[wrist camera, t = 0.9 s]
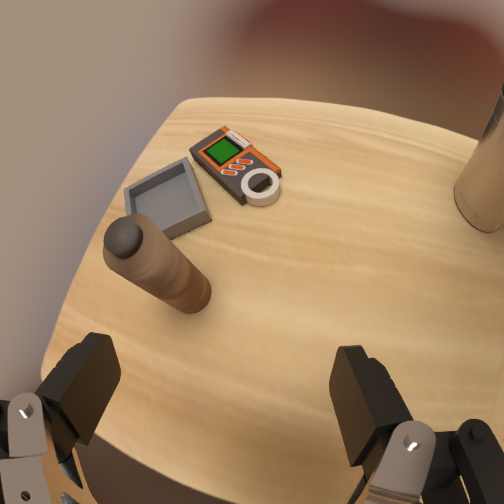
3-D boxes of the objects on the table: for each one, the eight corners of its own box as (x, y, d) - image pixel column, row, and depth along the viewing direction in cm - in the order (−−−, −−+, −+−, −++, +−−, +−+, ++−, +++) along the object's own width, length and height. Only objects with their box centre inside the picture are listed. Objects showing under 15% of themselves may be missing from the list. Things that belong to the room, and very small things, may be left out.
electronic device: (251, 208, 31) (186, 146, 37) (255, 220, 34) (193, 159, 39) (295, 175, 32) (224, 122, 38) (295, 189, 35) (228, 135, 40)
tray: (192, 167, 38) (186, 156, 36) (212, 220, 34) (205, 209, 32) (131, 198, 38) (123, 189, 36) (140, 254, 34) (130, 246, 32)
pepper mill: (203, 266, 31) (142, 194, 19) (217, 303, 29) (152, 247, 17) (168, 282, 31) (92, 223, 19) (178, 319, 29) (96, 276, 17)
